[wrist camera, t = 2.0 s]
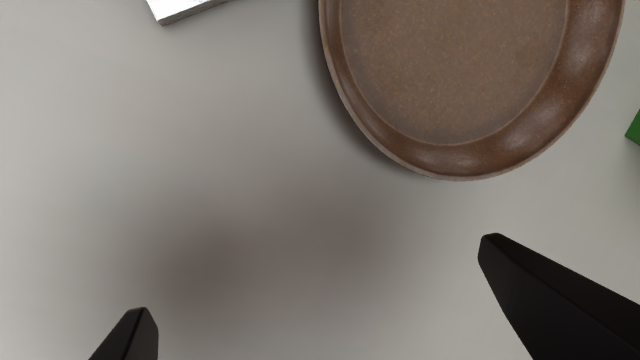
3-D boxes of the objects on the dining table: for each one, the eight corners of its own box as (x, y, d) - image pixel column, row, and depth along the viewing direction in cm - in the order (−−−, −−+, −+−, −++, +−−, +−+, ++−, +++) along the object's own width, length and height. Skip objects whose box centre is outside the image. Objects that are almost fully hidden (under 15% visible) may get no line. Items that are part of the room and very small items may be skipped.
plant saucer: (321, -225, 17) (343, -286, 14) (613, -124, 22) (674, -154, 19) (291, 163, 21) (303, 177, 18) (540, 172, 26) (580, 184, 23)
